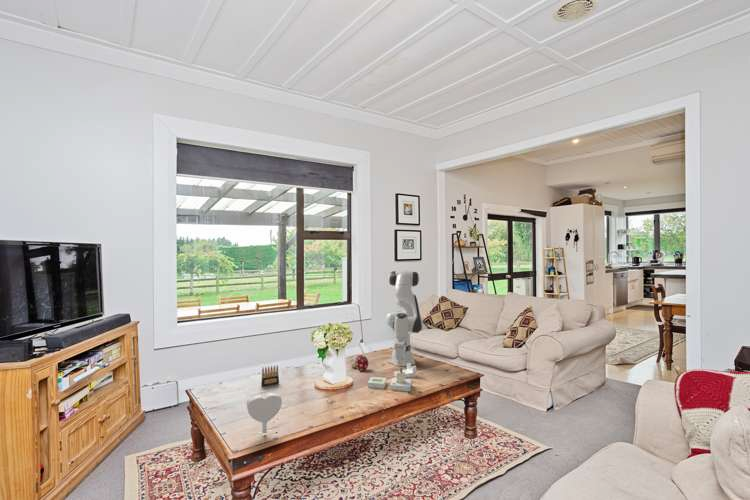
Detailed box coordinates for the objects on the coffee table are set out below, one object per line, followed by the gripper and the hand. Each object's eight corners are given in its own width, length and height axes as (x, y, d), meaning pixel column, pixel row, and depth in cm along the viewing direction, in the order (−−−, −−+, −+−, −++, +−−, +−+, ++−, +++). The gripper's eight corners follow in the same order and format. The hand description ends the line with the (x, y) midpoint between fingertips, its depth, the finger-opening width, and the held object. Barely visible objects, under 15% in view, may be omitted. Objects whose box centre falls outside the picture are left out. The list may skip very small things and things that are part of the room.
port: (392, 384, 240) (392, 377, 240) (411, 385, 238) (411, 378, 238) (389, 391, 229) (390, 383, 229) (409, 393, 226) (409, 385, 226)
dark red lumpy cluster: (348, 354, 274) (361, 351, 264) (359, 360, 279) (373, 357, 269) (344, 369, 268) (357, 367, 257) (356, 375, 273) (369, 373, 262)
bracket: (409, 373, 260) (410, 363, 260) (416, 377, 254) (416, 366, 254) (394, 377, 254) (394, 366, 253) (400, 380, 247) (400, 369, 247)
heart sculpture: (279, 427, 184) (279, 390, 184) (282, 432, 179) (282, 394, 179) (246, 434, 177) (246, 396, 177) (248, 439, 173) (247, 400, 172)
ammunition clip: (261, 386, 235) (261, 367, 235) (261, 385, 237) (261, 366, 237) (279, 383, 240) (279, 365, 240) (278, 382, 242) (278, 364, 242)
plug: (397, 385, 235) (397, 367, 235) (405, 386, 234) (405, 368, 234) (396, 387, 232) (396, 369, 232) (404, 388, 231) (404, 369, 231)
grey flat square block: (371, 383, 242) (371, 376, 242) (386, 384, 240) (386, 378, 240) (367, 388, 232) (367, 382, 232) (383, 390, 230) (383, 383, 230)
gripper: (398, 335, 244) (398, 356, 244) (393, 344, 224) (393, 367, 224) (408, 336, 242) (407, 357, 243) (404, 345, 222) (404, 368, 223)
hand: (400, 362), depth 233 cm, fingers open, 8 cm apart
